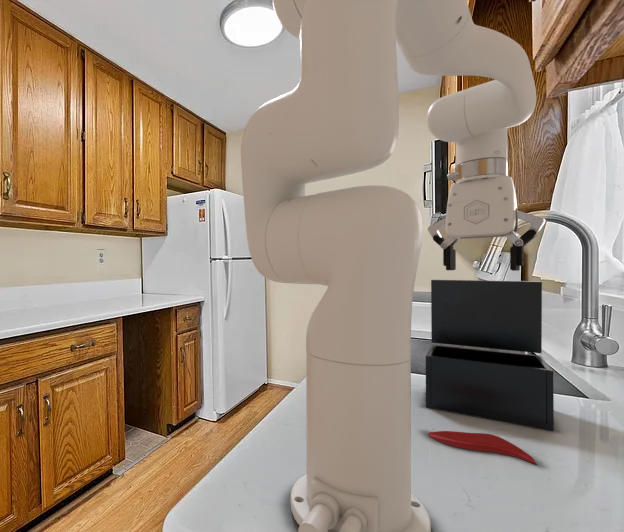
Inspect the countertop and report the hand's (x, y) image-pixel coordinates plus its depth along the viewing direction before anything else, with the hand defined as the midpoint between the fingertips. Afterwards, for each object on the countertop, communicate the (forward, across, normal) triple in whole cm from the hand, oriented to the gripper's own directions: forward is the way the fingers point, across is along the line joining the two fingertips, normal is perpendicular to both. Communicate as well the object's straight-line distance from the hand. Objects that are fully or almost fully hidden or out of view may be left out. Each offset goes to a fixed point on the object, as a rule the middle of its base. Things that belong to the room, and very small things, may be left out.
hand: (481, 270), depth 66 cm
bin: (+24, +1, -2) cm, 24 cm away
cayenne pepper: (+24, +4, -20) cm, 31 cm away
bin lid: (+8, 0, +3) cm, 9 cm away
